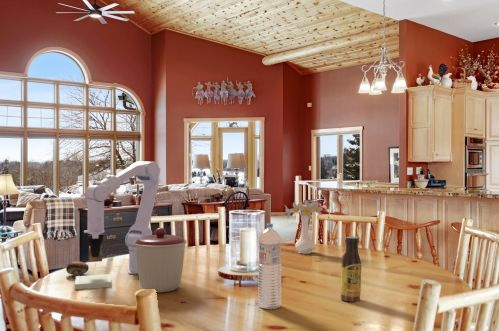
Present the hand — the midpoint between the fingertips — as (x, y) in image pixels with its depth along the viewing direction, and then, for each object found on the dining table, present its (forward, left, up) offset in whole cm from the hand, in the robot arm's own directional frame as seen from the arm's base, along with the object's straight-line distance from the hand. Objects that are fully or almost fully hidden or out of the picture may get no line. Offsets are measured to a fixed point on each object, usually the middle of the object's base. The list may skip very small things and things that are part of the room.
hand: (95, 255), depth 176 cm
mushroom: (+7, -12, -10) cm, 17 cm away
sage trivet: (+1, +3, -10) cm, 10 cm away
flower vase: (-95, -29, -10) cm, 100 cm away
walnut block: (0, 0, -2) cm, 2 cm away
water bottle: (-50, +47, -10) cm, 70 cm away
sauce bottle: (-77, +48, -10) cm, 92 cm away
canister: (-21, +17, -10) cm, 29 cm away
